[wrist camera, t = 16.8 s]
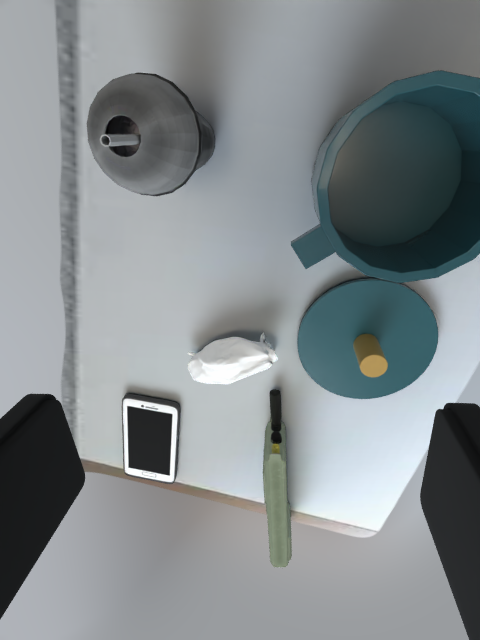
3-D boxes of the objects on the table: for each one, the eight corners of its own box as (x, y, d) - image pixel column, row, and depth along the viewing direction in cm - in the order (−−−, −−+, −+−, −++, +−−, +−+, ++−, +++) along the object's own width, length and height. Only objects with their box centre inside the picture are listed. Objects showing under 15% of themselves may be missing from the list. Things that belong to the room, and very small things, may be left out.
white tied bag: (251, 310, 42) (179, 353, 43) (265, 339, 36) (181, 389, 37) (270, 340, 45) (202, 380, 45) (287, 372, 39) (207, 418, 40)
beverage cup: (160, 86, 33) (-3, 11, 15) (237, 108, 33) (170, 59, 15) (149, 171, 36) (5, 194, 18) (220, 191, 36) (147, 234, 18)
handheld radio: (268, 521, 55) (260, 385, 45) (290, 522, 55) (287, 385, 44) (267, 567, 49) (258, 421, 39) (292, 568, 49) (289, 422, 38)
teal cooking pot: (260, 175, 35) (250, 182, 27) (465, 29, 28) (534, -20, 20) (330, 289, 39) (339, 326, 30) (524, 184, 32) (601, 195, 24)
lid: (273, 318, 41) (270, 342, 36) (398, 249, 36) (416, 266, 31) (335, 410, 45) (341, 443, 40) (455, 360, 40) (479, 390, 35)
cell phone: (126, 470, 54) (123, 475, 53) (124, 391, 48) (121, 395, 47) (176, 480, 54) (174, 485, 53) (181, 401, 47) (179, 406, 47)
